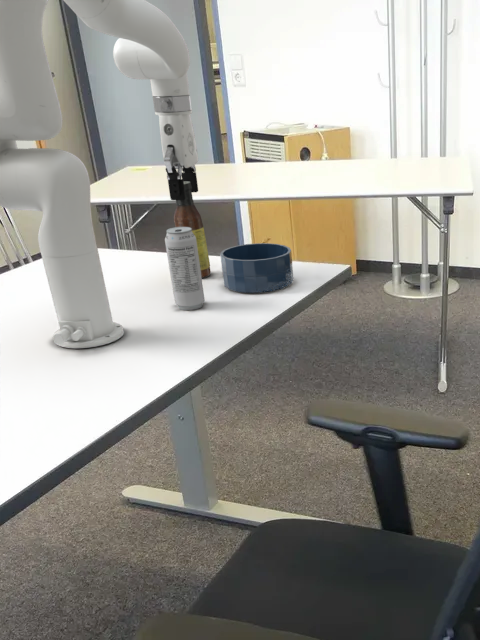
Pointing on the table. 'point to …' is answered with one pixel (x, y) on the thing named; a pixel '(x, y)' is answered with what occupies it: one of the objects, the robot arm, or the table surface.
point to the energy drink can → (184, 268)
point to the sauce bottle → (193, 226)
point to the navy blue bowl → (257, 267)
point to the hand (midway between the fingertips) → (184, 195)
